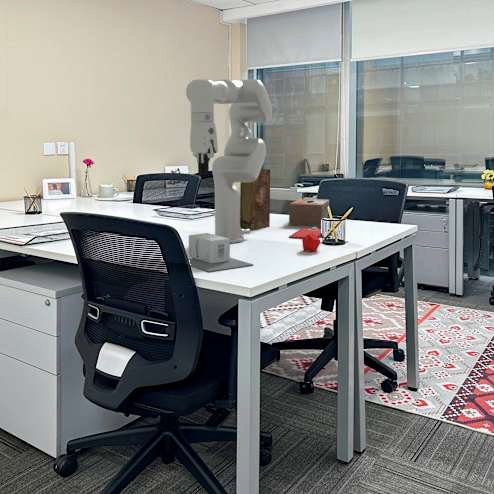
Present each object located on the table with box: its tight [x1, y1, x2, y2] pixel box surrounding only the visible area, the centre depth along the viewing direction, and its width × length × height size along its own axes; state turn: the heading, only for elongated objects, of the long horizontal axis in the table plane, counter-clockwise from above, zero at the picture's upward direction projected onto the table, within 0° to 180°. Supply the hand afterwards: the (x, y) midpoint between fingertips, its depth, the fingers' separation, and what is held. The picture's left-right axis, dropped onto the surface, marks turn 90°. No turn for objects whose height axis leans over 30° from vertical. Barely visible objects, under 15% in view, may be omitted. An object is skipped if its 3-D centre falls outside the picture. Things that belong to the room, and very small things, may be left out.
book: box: [239, 168, 271, 231], centre depth 249 cm, size 16×6×25 cm, turn 146°
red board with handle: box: [288, 227, 323, 240], centre depth 237 cm, size 30×3×15 cm
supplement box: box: [188, 232, 231, 264], centre depth 181 cm, size 7×7×13 cm
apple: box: [301, 233, 322, 253], centre depth 199 cm, size 7×7×8 cm
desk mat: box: [188, 257, 254, 273], centre depth 177 cm, size 16×18×1 cm
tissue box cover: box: [288, 198, 330, 228], centre depth 268 cm, size 26×14×10 cm, turn 164°
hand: (203, 174), depth 193 cm, fingers closed
